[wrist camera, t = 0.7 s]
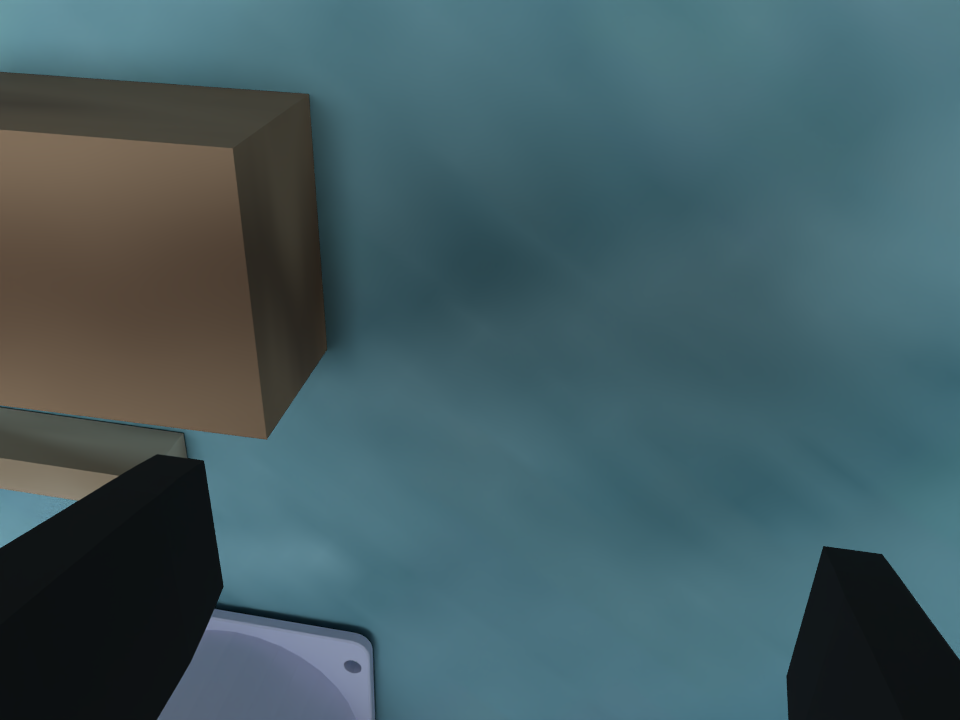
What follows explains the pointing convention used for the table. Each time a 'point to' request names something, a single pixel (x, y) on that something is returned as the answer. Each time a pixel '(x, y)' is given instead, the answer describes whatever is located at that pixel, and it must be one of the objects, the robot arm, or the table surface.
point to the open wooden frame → (73, 452)
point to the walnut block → (157, 252)
